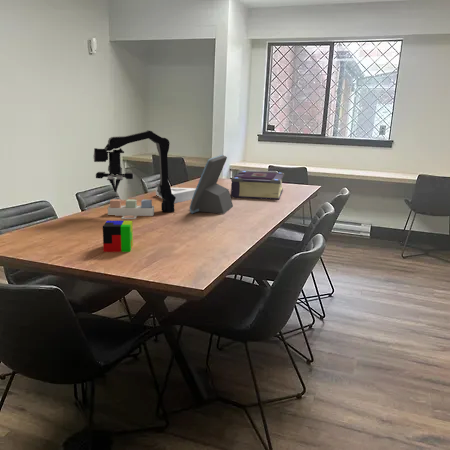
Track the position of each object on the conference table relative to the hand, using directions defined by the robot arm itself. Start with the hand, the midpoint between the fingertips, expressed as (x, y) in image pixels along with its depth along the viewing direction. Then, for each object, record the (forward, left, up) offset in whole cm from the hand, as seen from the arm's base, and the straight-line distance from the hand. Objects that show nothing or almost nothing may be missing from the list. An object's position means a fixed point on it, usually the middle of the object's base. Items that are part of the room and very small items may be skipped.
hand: (115, 191), depth 243 cm
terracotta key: (0, 0, -9) cm, 9 cm away
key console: (-8, 0, -12) cm, 14 cm away
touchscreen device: (-51, -17, -12) cm, 55 cm away
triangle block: (-27, -52, -13) cm, 60 cm away
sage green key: (-8, 0, -9) cm, 12 cm away
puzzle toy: (-11, +65, -12) cm, 67 cm away
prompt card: (-8, +9, -12) cm, 17 cm away
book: (-86, -75, -12) cm, 114 cm away
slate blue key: (-16, 0, -9) cm, 18 cm away
